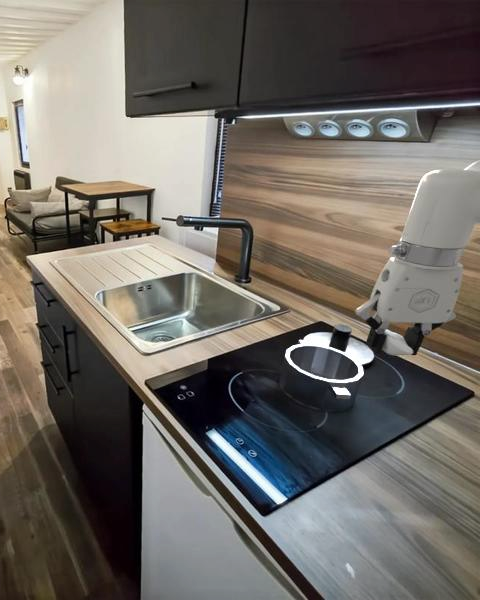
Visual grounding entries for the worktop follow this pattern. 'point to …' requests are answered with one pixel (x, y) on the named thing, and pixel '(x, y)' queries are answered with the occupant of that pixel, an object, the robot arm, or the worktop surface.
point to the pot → (320, 377)
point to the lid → (343, 343)
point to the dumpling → (396, 344)
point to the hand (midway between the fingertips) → (390, 349)
